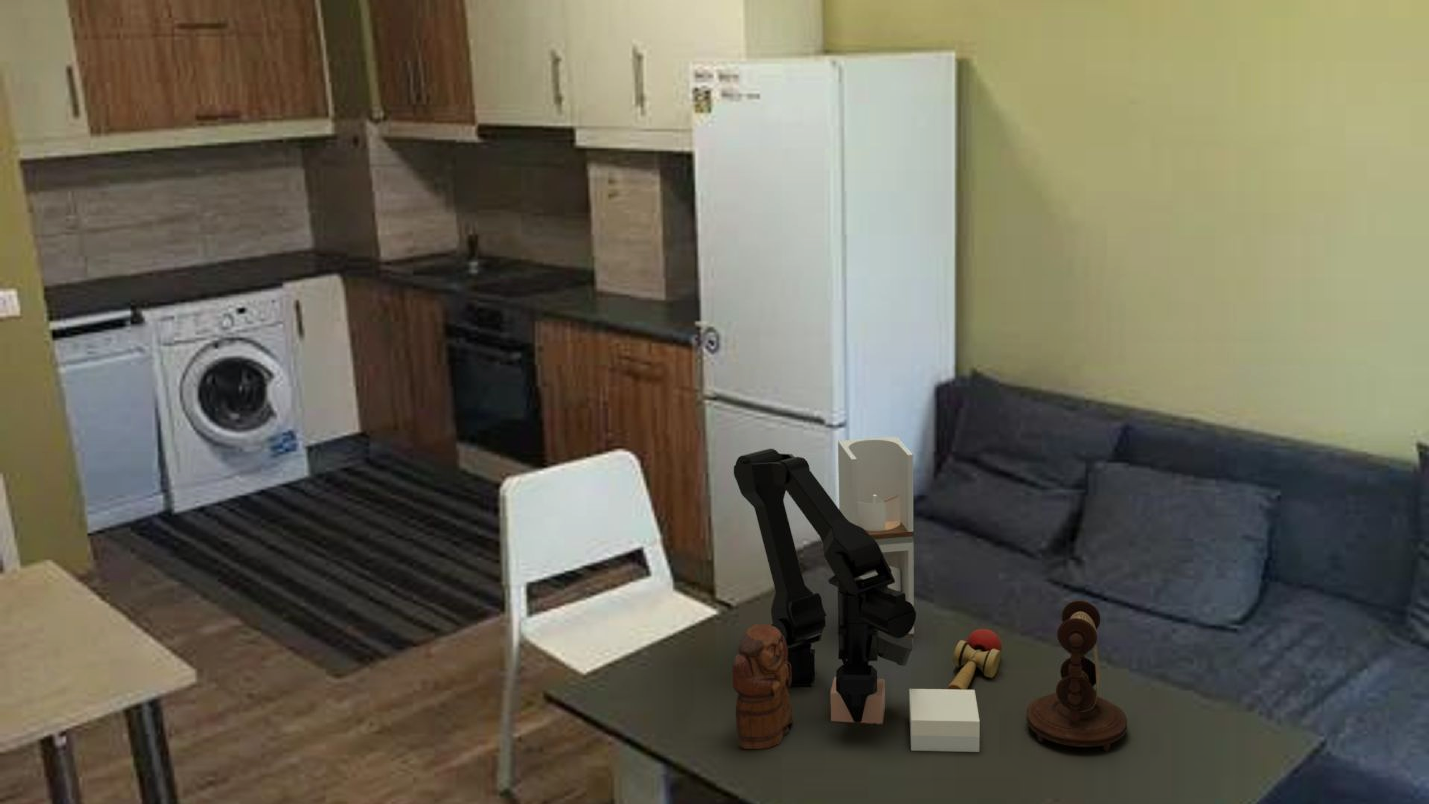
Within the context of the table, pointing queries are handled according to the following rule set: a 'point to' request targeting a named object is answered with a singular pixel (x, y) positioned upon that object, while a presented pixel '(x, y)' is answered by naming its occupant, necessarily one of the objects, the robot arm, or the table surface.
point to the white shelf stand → (881, 502)
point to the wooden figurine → (762, 687)
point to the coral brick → (871, 710)
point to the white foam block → (943, 720)
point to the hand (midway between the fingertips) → (858, 707)
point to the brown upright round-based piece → (1077, 689)
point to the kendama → (976, 657)
